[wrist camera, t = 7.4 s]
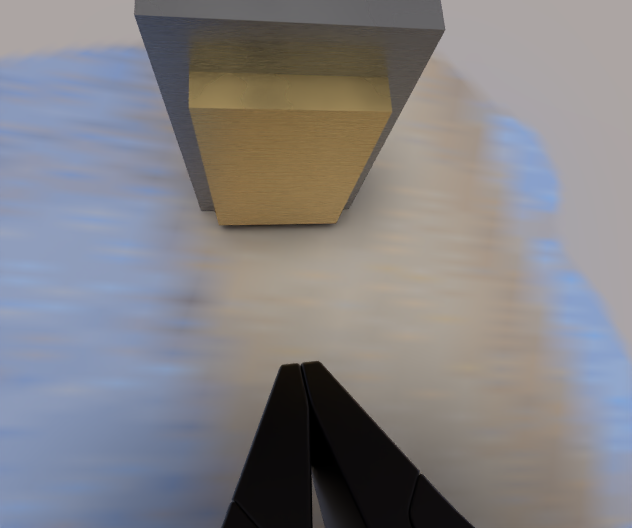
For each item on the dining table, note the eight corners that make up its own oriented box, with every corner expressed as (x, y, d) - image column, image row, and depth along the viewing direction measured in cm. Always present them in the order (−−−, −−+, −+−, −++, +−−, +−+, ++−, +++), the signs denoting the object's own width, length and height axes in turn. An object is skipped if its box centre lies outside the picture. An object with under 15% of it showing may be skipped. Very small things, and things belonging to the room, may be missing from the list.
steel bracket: (348, 208, 24) (445, 29, 12) (201, 210, 23) (134, 14, 11) (344, 159, 25) (430, -58, 12) (201, 159, 24) (138, -81, 11)
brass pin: (335, 223, 23) (392, 111, 13) (218, 225, 22) (188, 107, 12) (323, 60, 25) (363, -134, 16) (217, 56, 24) (190, -151, 15)
